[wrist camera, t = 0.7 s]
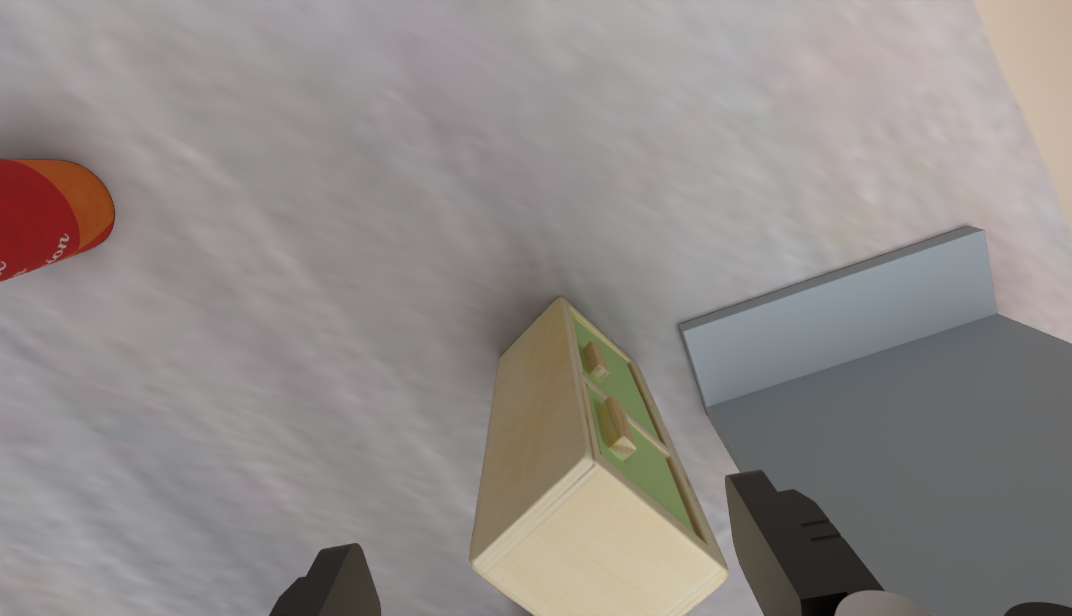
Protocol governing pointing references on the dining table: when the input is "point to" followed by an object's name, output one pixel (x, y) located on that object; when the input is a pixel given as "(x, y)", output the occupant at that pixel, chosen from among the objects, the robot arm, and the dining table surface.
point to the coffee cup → (49, 213)
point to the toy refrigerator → (586, 484)
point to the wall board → (907, 421)
